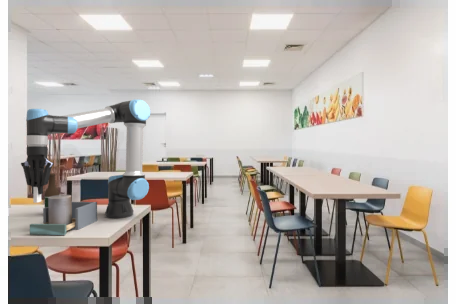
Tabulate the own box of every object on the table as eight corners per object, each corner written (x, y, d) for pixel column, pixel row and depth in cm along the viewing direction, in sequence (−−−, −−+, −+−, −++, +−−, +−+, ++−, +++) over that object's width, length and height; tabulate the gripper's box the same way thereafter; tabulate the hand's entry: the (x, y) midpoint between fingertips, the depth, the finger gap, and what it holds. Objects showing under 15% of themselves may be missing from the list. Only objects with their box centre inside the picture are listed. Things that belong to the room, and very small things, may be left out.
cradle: (66, 220, 159) (66, 201, 159) (97, 220, 158) (96, 201, 158) (43, 229, 141) (43, 208, 141) (78, 229, 140) (77, 208, 140)
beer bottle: (42, 216, 168) (41, 174, 168) (46, 213, 175) (46, 173, 175) (57, 215, 170) (57, 173, 170) (61, 213, 178) (61, 172, 177)
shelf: (55, 224, 149) (55, 215, 149) (86, 224, 148) (86, 215, 148) (29, 234, 131) (29, 224, 131) (64, 234, 130) (64, 224, 130)
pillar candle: (62, 221, 148) (61, 191, 147) (76, 223, 144) (76, 192, 144) (43, 226, 139) (42, 194, 138) (58, 228, 135) (57, 195, 135)
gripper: (57, 146, 128) (58, 200, 128) (29, 146, 129) (29, 200, 129) (46, 145, 121) (46, 203, 121) (15, 145, 122) (15, 203, 122)
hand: (37, 202), depth 125 cm, fingers closed
